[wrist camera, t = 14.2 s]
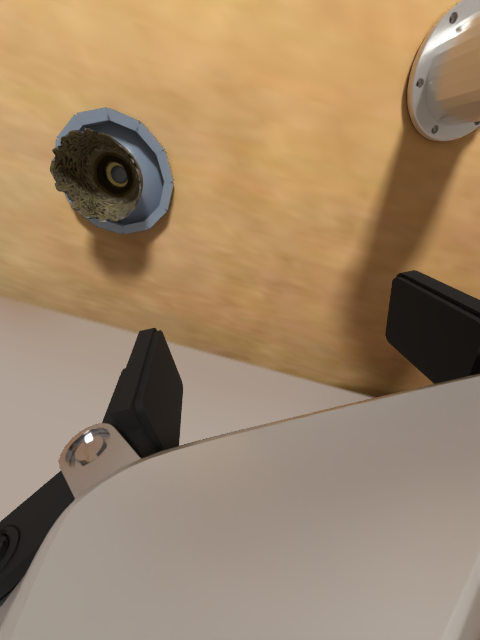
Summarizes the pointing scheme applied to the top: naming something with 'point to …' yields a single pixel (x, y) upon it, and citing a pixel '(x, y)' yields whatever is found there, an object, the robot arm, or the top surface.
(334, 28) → the top surface
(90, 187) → the cup
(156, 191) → the dish
